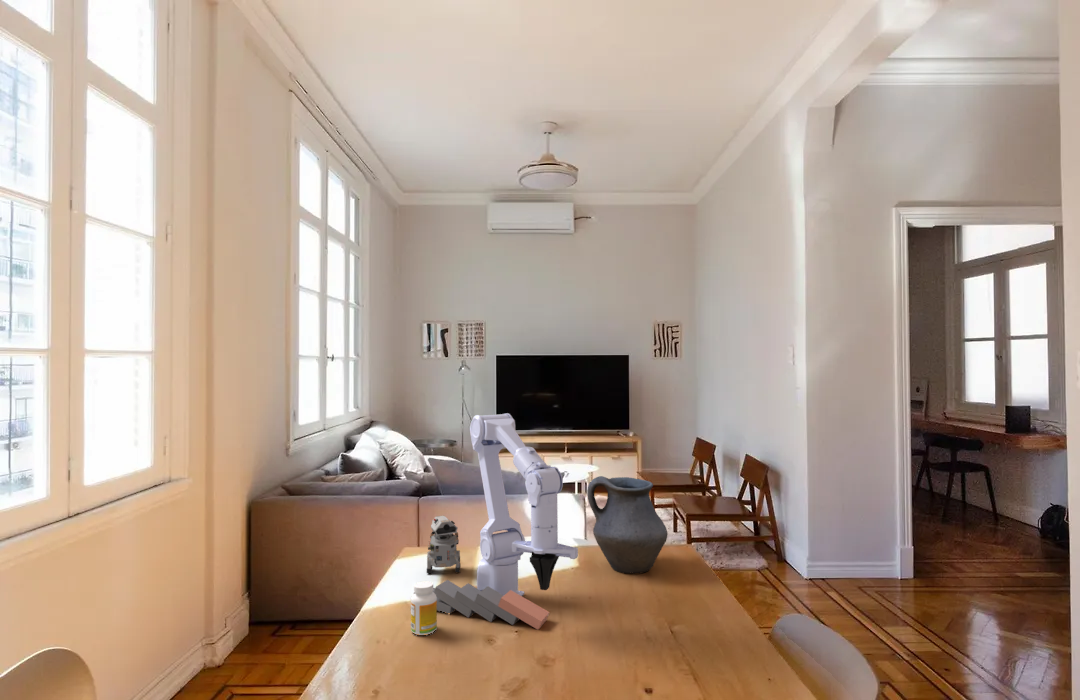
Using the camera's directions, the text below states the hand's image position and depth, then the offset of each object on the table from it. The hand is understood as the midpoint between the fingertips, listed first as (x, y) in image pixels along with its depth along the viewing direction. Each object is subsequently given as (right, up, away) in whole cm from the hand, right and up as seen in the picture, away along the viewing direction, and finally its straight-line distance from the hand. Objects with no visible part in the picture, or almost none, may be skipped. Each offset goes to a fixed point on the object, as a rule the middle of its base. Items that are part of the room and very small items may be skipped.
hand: (544, 588), depth 127 cm
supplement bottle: (-26, -8, -2) cm, 27 cm away
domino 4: (-6, -7, +2) cm, 9 cm away
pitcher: (+23, -9, +35) cm, 43 cm away
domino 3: (-10, -7, +4) cm, 13 cm away
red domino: (0, -7, 0) cm, 7 cm away
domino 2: (-16, -7, +6) cm, 18 cm away
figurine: (-27, -9, +32) cm, 43 cm away
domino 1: (-20, -7, +8) cm, 23 cm away
